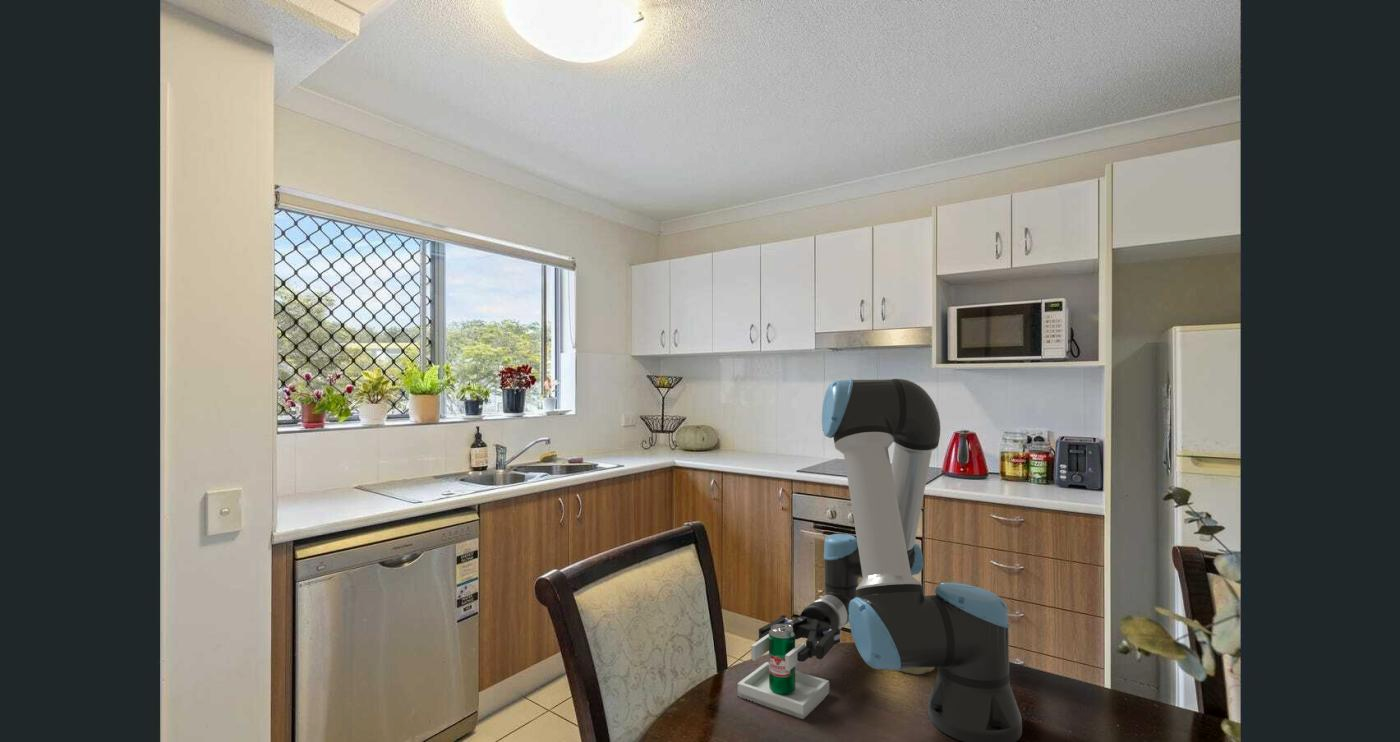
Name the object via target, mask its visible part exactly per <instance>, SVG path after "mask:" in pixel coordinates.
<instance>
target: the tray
mask: <svg viewBox="0 0 1400 742" xmlns="http://www.w3.org/2000/svg"><path fill="white" fill-rule="evenodd" d="M828 694H829V695H830V680H828V679H825V678H821V677H818V676H815V675H812V674H808V673H805V672H802V671H799V670H795V690H794V692H793V693H792V694H790V695H778V694H775V693H773V692H772V691H771V689H770V688H769V661H766V662H764V663H763V664H762V665H760V666H758V667H757V668H756V669H755V670H754V671H752V672H751V673H750V674H748V675H747V676H746V677H744V678H743V679H741V680H740V681H739V682H738V683H737V697H738V696H739V697H738V698H742V699H744V700H746V699H747V701H749V700H750V701H749V702H752V701H753V702H752V703H756V704H759V705H761V706H765V707H766V708H770V709H773V710H774V711H775V710H776V711H777V712H778V711H779V712H780V713H783V714H787V715H789V716H791V717H792V716H793V717H795V718H798V719H800V720H804V719H805V718H806V717H807V716H808V715H810V713H812V711H814V710H815V708H817V707H818V705H820V703H822V701H824V700H825V697H826V696H827V695H828ZM829 695H828V696H829ZM828 696H827V697H828ZM827 697H826V698H827Z"/></svg>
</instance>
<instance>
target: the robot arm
mask: <svg viewBox="0 0 1400 742" xmlns="http://www.w3.org/2000/svg"><path fill="white" fill-rule="evenodd" d="M826 388H827V389H826V391H825V393H824V397H823V402H822V410H821V428H822V432H823V435H824V436H825V437H827V438H829V439H833V441H834V442H833V443H834V448H835V449H836V450H837V451H839V452H840V453H842V455H843V457H844V458H843V459H844V464H845V471H846V477H847V483H848V490H849V491H848V492H849V497H850V503H851V509H852V518H853V522H854V528H855V529H854V530H855V536H854V535H851V534H848V533H847V534H846V533H844V534H843V533H833V534H830V535H827V537H825V539H824V543H823V544H824V545H823V565H824V566H823V567H824V568H823V569H824V594H823V595H822V596H820V597H819V598H818V599H816V600H814V601H813V602H812V603H810V604H809V605H807V606H806V607H804V608H803V610H802V611H801V613H800V615H799V616H798V617H794V618H793V619H788V618H787V616H786V614H785V615H784V614H782V615H780V616H779V617H778V618H777V619H775V620H773V621H772V622H770V623H768V624H766V625H763V626H761V627H760V628H758V638H757V639H756V640H755V642H754V643H753V644H751V645H750V651H751V652H750V654H751V657H750V658H751V660H752V661H756V660H758V659H759V658H760V657H762V656H764V655H765V654H766V653H768V652H769V632H770V630H771V626H772V625H775V624H787V625H790V626H792V627H793V631H794V633H795V641H796V640H799V639H801V638H802V639H805V643H804V642H801V643H798V645H795V648H794V649H793V650H791V651H790V652H789V653H787V654H786V655H785V670H787V671H790V670H791V669H792V668H793V667H795V668H796V666H797V665H798V664H799V663H804V662H805V661H807V660H808V659H811V658H813V657H816V659H817V660H822V659H824V657H826V655H827V654H828V653H829V652H830V651H831V649H832V648H833V647H834V646H835V645H837V644H839V643H841V629H842V628H843V627H845V626H846V625H847V624H849V627H850V631H851V636H852V639H853V642H854V644H855V647H856V649H857V651H858V653H859V655H860V657H861V658H862V660H863V661H864V663H865V664H867V666H869V667H870V668H871V669H875V670H892V671H899V670H900V669H913V668H932V667H935V668H937V673H936V676H935V680H934V682H933V685H932V688H931V691H930V694H929V698H928V701H927V714H928V715H927V716H928V719H929V720H930V722H931V723H932V725H933V726H935V728H937V730H939V731H940V732H942V733H944V734H945V735H947V736H949V737H951V738H952V739H955V740H958V741H961V742H1017V741H1019V740H1020V738H1021V737H1022V735H1023V720H1022V715H1021V711H1020V709H1019V707H1018V704H1017V700H1016V697H1015V695H1014V692H1013V689H1012V686H1011V683H1010V682H1011V681H1010V680H1011V679H1010V645H1009V644H1010V639H1009V637H1010V636H1009V634H1010V633H1009V628H1010V627H1011V626H1010V625H1011V624H1010V620H1009V613H1008V606H1007V604H1006V602H1005V601H1004V600H1003V598H1001V597H1000V596H999V595H997V594H995V593H994V592H993V591H992V592H991V591H990V590H987V589H984V588H982V587H977V586H974V585H970V584H965V583H959V582H941V583H939V584H937V585H936V587H935V589H934V593H935V594H933V595H931V594H930V595H925V593H924V587H923V584H922V583H921V581H919V580H918V579H917V578H916V577H914V576H916V575H919V574H920V573H921V572H922V571H923V568H924V560H923V559H924V555H923V552H922V549H921V546H920V545H919V544H918V543H917V542H916V538H917V533H918V532H917V531H918V527H919V522H920V516H921V511H922V505H923V501H924V496H925V490H926V485H927V484H926V483H927V479H928V473H929V468H930V463H931V457H932V454H933V453H932V452H933V451H935V450H936V449H937V448H938V447H939V444H940V439H941V421H940V420H941V419H940V415H939V412H938V409H937V407H936V405H935V402H934V401H933V399H932V398H931V396H930V395H929V393H928V392H927V391H926V390H925V389H924V388H923V387H921V386H920V385H918V384H917V383H916V382H913V381H911V380H908V379H904V378H892V379H889V378H888V379H853V378H850V379H845V380H843V379H841V380H834V381H832V382H831V383H830V384H828V387H826ZM893 443H894V447H893V448H894V449H893V453H892V454H893V455H892V461H891V458H890V453H889V448H890V446H891V445H892V444H893ZM859 578H860V579H861V581H860V582H859Z"/></svg>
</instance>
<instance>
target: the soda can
mask: <svg viewBox="0 0 1400 742" xmlns="http://www.w3.org/2000/svg"><path fill="white" fill-rule="evenodd" d="M795 647H796V640H795V633H794V631H793V627H792V626H790V625H787V624H775V625H772V626H771V630H770V632H769V651H768V662H769V688H770V689H771V691H772V692H773V693H775V694H778V695H790V694H792V693H793V692H794V690H795V671H796V666H795V667H793V668H792V669H791V670H790V671H787V670H785V655H786V654H787V653H789V652H790V651H791V650H793V649H794V648H795Z"/></svg>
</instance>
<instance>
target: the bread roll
mask: <svg viewBox="0 0 1400 742" xmlns="http://www.w3.org/2000/svg"><path fill="white" fill-rule="evenodd" d="M935 668H936V667H932V668H913V669H900V670H898V671H899V672H902V673H905V674H909V673H910V674H909V675H923V674H926V673H931V672H932V671H934V670H935Z"/></svg>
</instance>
